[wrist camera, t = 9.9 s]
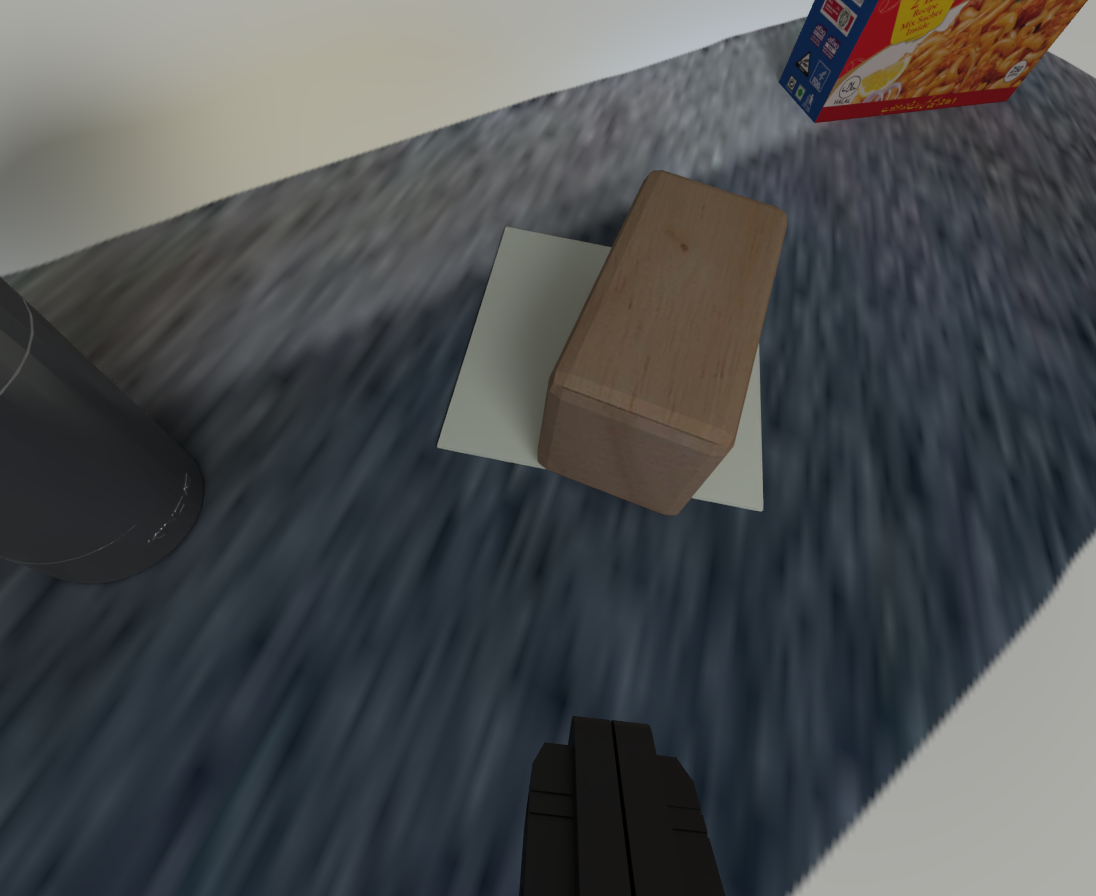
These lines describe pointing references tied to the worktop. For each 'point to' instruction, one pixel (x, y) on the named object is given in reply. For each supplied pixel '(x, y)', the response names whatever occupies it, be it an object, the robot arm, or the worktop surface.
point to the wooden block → (664, 345)
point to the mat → (532, 352)
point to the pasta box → (917, 53)
